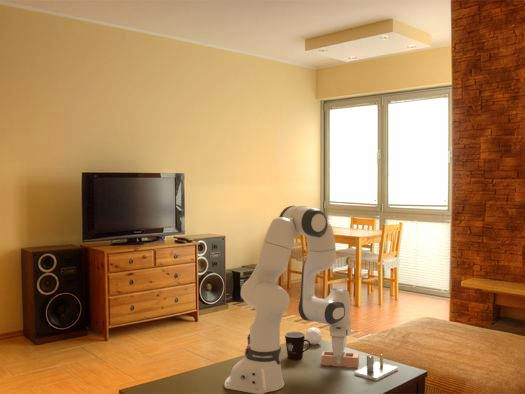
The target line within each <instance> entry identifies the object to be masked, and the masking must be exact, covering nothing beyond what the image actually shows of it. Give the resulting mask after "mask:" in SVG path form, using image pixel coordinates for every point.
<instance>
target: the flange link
mask: <svg viewBox="0 0 525 394" xmlns="http://www.w3.org/2000/svg"><path fill="white" fill-rule="evenodd" d="M341 359H342V362H341V364H337V358H336V356H334V355H333V351H330V350H329V351H327V350H323V351H322V353H321V357H320V361H321V363H320V364H321V366H329V365H332V367H333V366H334V367H343V366H346V368H357V367H358V368H359V364H360V353H359V352H347V351H346V352H345V351H344V352H343V355H342V356H341Z"/></svg>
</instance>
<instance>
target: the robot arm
mask: <svg viewBox="0 0 525 394" xmlns="http://www.w3.org/2000/svg"><path fill="white" fill-rule="evenodd" d="M298 235H300V236H305V237H306V239H307V259H305V260H304V262H303V264H302V268H301V280H300V283H301V284H300V295H299V297H300V298H299V301H298V305H297V306H298V307H297V309H298V314H299V316H300V317H301V319H303V320H304V321H308V322H316V323H321V324H325V325H328V326H329V327H328V328H329V336H330V337H331V349H332V352H333V355H334V356H336V358H337V364H341V362H342V359H341V356H342V355H343V352H345V348H346V345H347V342H348V341H347V339H348V335H349V333H351V332H352V330H351V328H352V327H351V324H352V323H351V320H352V319H351V296H350V292H349V291H348V290H346V289H345V288H344V289H343V288H337V287H335V288H331V289H330V292H329V294H328V296H327V297H326V298H320V297H317V296H316V295H315V285H316V284H315V283H316V277H317V275H318V274H319V273H321V272H324V271H326V270H328V269H330V268H331V267H332V266H333V265H334V264H335V262H336V260H337V259H336V258H337V250H336V249H337V248H336V240H335V239H336V238H335V233H334V231H333V226H332V225H331V223H330V222H328V218H327V216H326V214H325V213H324V212H323V211H322V210H321V209H318V208H316V207H309V206H304V205H290V206H287V207H285V208H284V209H283V210H282V211H281V212H280V214H279V216H278V217H275V218H273V219H272V220H271V222H270V224H269V227H268V228H267V231H266V235H265V237H264V240H263V244H262V247H261V251H260V254H259V257H258V261H257V263H256V265H255V267H254V270H253V271H252V273H251V275H250V276H249V278H248V279H247V280H246V281H245V282H244V283H242V285H241V288H240V296H241V299H242V300H243V301H244V302H245V303H246V304H247V306H249V307H252V308H254V309H255V317H254V321H253V323H252V324H251V325H250V328H249V334H250V344H249V345H248V344H247V346H246V347H245V350H244V355H245V356H244V357H243V358H242V359H240V360H239V361H238V362H237V363H235V364H234V365H233V367H232V369H231V371H230V375H229V376H228V377H227V378H226V379H225V381H224V385H223V387H224V388H225V389H227V390H233V391H239V392H244V393H250V394H266V393H269V392H276V391H278V390H281V389H282V388H284V386H285V385H286V384H285V380H284V378H283V373H282V366H281V362H282V348H281V346H280V344H281V343H280V342H281V341H280V336H281V335H280V334H281V333H280V332H281V331H280V329H281V323H282V318H283V315H284V313H285V312H286V311H287V310H288V308H289V307H290V303H291V302H290V301H291V299H290V295H289V293H288V291H286V290H285V288H283V287H281V286H280V285H278V284H277V282H278V279H279V278H280V277H281V275H282V274H283V273H285V272H286V271H287V269H288V265H289V263H290V262H289V261H290V259H291V254H292V251H293V247H294V242H295V239H296V237H297V236H298Z"/></svg>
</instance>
